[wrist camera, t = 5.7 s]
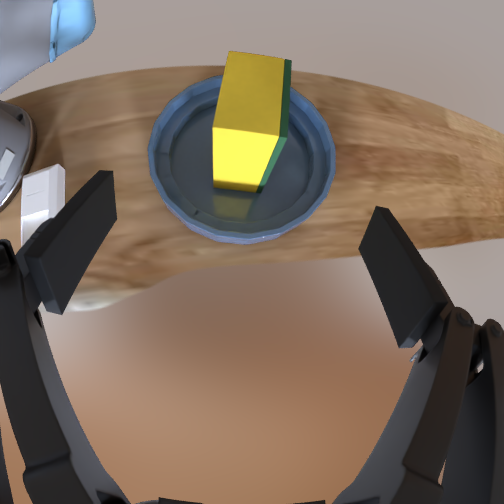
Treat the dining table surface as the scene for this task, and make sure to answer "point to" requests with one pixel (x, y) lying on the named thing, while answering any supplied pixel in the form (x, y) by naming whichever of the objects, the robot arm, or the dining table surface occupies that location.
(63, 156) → the dining table surface
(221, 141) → the sponge
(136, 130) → the dining table surface
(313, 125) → the bowl
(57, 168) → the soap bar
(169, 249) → the dining table surface
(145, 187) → the dining table surface
